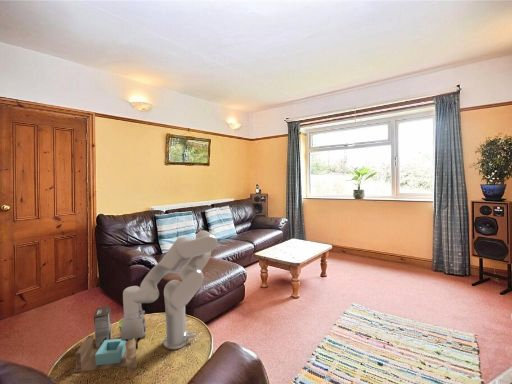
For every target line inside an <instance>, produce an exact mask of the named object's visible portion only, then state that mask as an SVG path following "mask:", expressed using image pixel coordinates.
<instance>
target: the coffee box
mask: <svg viewBox="0 0 512 384" xmlns="http://www.w3.org/2000/svg"><path fill="white" fill-rule="evenodd" d="M111 315H112V314H111V306H110V305H109V306H108V305H107V306H101V307H97V308H96V309H95V312H94V315H93V323H94V340H95V341H94V344H95V349H98V348H100V347H101V345H102V344H103V342H104V341H105V340H111V339H112V335H113V331H112V316H111Z"/></svg>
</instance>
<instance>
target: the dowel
mask: <svg viewBox="0 0 512 384" xmlns="http://www.w3.org/2000/svg"><path fill="white" fill-rule="evenodd" d="M125 346H126V372H133V371H134V370H136V369H137V365H138V364H137V350H136V341H135V338H134V339H131V340H128V341H127V342H126V343H125Z"/></svg>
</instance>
